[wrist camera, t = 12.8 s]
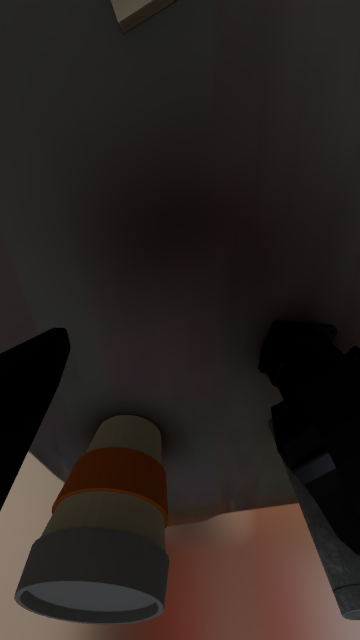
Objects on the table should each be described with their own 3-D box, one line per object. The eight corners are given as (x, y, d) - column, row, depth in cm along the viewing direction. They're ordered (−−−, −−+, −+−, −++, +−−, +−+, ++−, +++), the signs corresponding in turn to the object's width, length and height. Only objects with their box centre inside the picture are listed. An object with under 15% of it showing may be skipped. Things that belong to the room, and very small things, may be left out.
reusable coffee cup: (176, 407, 29) (170, 583, 15) (172, 464, 35) (165, 627, 21) (78, 402, 29) (-13, 575, 15) (90, 460, 34) (32, 622, 21)
